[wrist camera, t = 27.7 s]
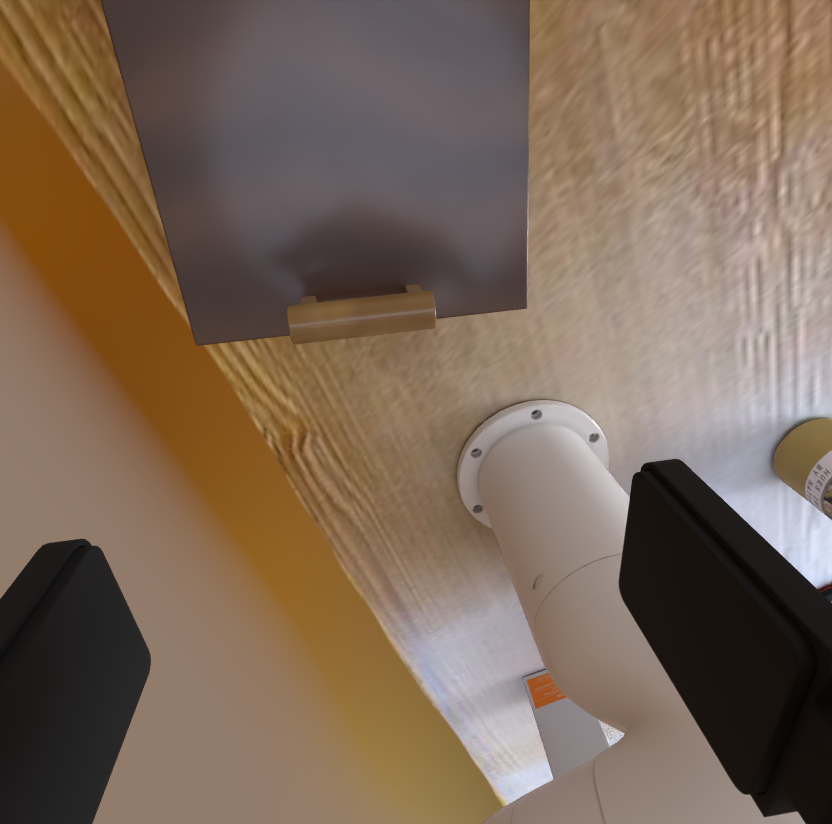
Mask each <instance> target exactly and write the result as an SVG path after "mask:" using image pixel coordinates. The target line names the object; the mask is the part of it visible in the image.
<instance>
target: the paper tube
mask: <svg viewBox="0 0 832 824" xmlns="http://www.w3.org/2000/svg"><path fill="white" fill-rule="evenodd" d="M774 469H775V472H776V474H777V476H778V477H779V478H780V479H781V480H782V481H783V482H784V483H786V484H787V485H788V486H789V487H791V488H792V489H793V490H795V491H796V492H797V493H798V494H800V495H801V496H802V497H804V498H805V499H806V500H807V501H809V502H810V503H811V504H812V505H813V506H815V507H816V508H817V509H819V510H820V511H821V512H822V513H824V514H825V515H826V516H828V517H829V518H830V519H831V520H832V419H831V418H821V419H814V420H811V421H808V422H805V423H803V424H801V425H799V426H798V427H796V428H795V429H793V430H792V431H791V432H790V433H789V434H787V435H786V436H785V438H784V439H783V440H782V441H781V443H780V444H779V446H778V448H777V450H776V452H775V455H774Z"/></svg>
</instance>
